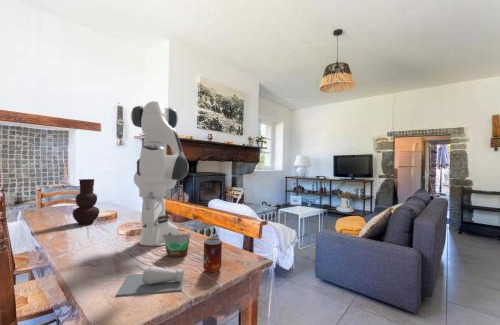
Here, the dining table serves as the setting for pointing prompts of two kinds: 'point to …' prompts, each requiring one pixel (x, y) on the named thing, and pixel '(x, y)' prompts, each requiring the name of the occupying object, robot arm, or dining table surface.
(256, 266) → the dining table surface
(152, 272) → the salt shaker
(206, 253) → the soda can
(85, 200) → the vase
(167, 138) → the robot arm
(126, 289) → the mat
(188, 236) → the food container
